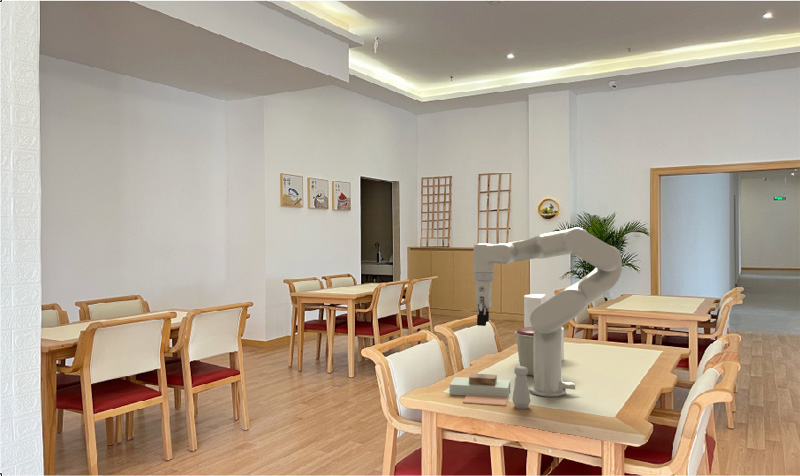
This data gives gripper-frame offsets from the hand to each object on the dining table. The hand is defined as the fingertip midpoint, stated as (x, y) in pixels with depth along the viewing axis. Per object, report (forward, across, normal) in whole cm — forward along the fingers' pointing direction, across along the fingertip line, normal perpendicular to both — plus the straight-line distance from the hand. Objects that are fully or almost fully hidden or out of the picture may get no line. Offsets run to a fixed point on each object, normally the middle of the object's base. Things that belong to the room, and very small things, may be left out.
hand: (483, 323), depth 210 cm
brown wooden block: (+18, -8, -1) cm, 20 cm away
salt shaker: (+23, -23, -15) cm, 36 cm away
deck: (+23, -8, 0) cm, 24 cm away
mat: (+23, -18, -3) cm, 30 cm away
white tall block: (+23, +54, -22) cm, 63 cm away
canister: (+23, +24, -20) cm, 39 cm away
